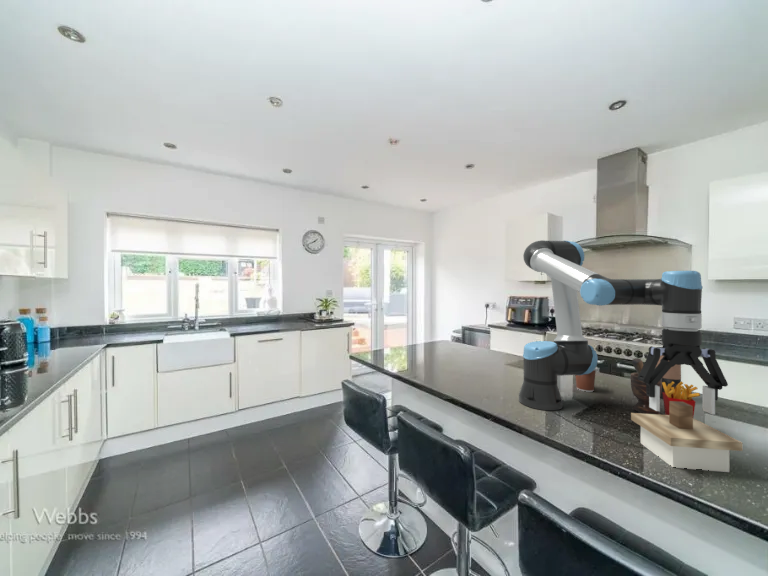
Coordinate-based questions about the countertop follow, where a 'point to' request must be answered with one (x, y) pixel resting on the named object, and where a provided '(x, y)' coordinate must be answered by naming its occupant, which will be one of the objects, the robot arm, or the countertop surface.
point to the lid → (685, 429)
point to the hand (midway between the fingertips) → (681, 410)
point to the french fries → (678, 395)
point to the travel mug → (670, 375)
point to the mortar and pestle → (641, 390)
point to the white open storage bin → (686, 454)
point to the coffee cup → (586, 381)
